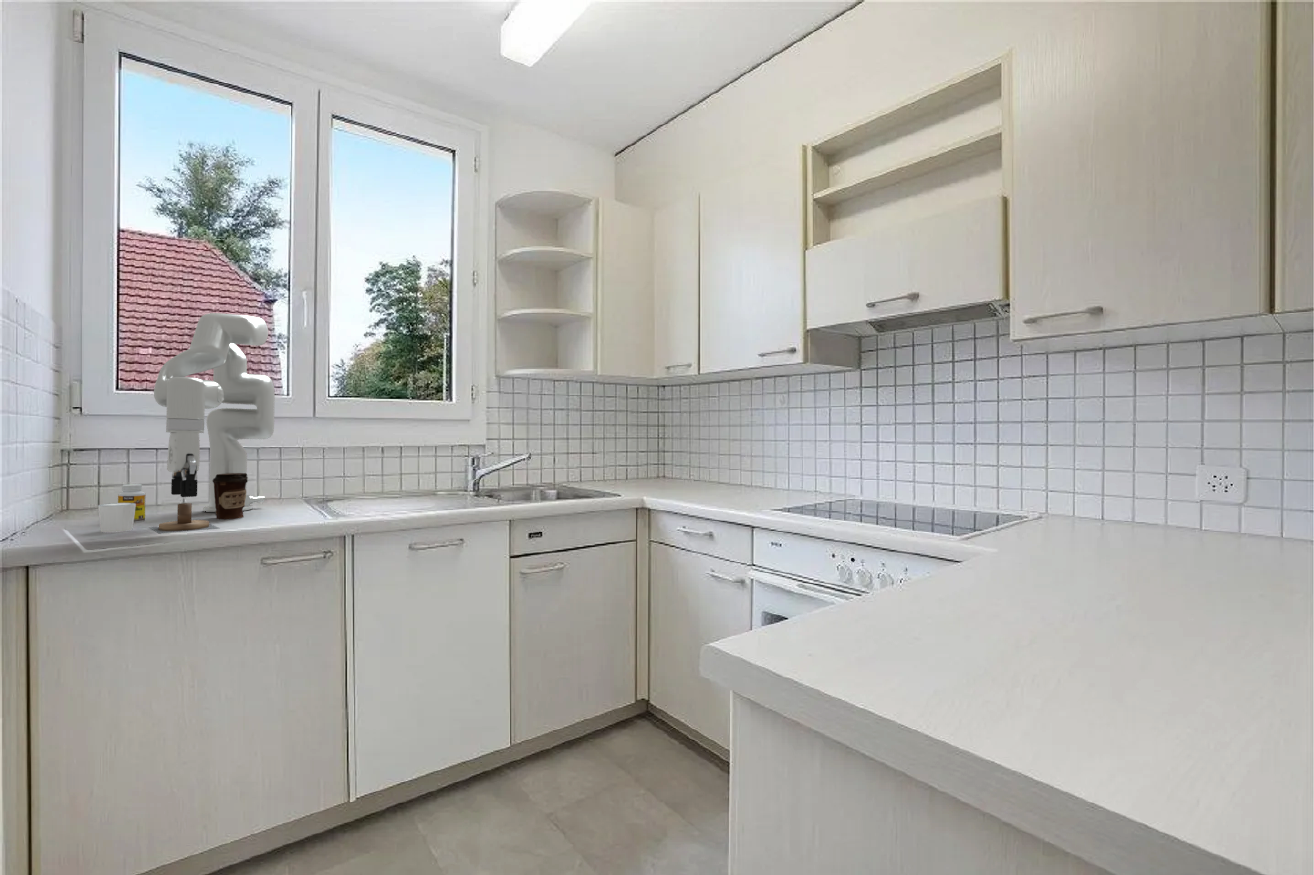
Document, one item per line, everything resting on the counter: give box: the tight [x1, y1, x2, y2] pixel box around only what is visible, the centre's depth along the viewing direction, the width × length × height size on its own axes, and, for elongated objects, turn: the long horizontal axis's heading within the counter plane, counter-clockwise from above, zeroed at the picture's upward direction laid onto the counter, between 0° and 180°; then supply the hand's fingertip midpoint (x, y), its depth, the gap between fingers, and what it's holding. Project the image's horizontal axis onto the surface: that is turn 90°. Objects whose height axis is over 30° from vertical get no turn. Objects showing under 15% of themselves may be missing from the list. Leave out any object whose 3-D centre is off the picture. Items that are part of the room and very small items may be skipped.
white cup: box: [97, 502, 136, 534], centre depth 148 cm, size 7×7×7 cm
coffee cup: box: [213, 473, 249, 520], centre depth 172 cm, size 9×8×13 cm
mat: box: [148, 523, 219, 535], centre depth 153 cm, size 12×12×1 cm
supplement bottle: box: [117, 483, 147, 523], centre depth 163 cm, size 6×6×10 cm
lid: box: [158, 502, 210, 532], centre depth 153 cm, size 10×10×6 cm
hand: (183, 495), depth 153 cm, fingers open, 9 cm apart
